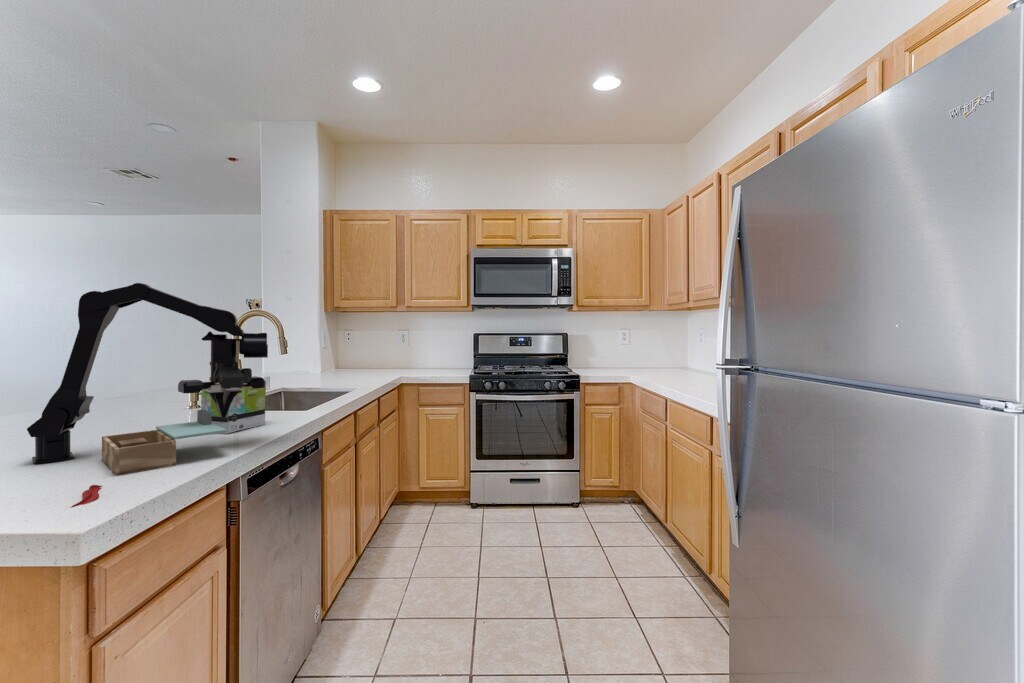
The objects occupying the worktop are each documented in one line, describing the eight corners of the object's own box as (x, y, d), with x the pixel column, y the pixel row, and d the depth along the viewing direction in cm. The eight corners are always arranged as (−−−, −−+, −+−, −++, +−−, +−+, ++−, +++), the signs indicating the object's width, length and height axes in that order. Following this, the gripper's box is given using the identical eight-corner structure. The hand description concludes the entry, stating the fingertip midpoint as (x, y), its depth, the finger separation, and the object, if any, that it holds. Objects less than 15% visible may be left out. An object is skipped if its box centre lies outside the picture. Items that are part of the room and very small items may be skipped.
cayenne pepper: (82, 510, 77) (82, 498, 77) (49, 511, 76) (49, 500, 76) (125, 486, 89) (125, 476, 89) (97, 488, 88) (97, 478, 88)
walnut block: (143, 457, 105) (143, 437, 105) (147, 460, 103) (147, 441, 102) (117, 461, 102) (117, 441, 102) (121, 465, 99) (121, 444, 99)
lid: (156, 428, 112) (156, 414, 112) (205, 422, 120) (205, 409, 120) (173, 439, 101) (173, 423, 101) (226, 432, 109) (226, 417, 109)
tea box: (228, 434, 132) (228, 383, 132) (199, 432, 134) (199, 382, 134) (266, 424, 147) (266, 378, 146) (239, 423, 149) (239, 377, 148)
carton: (101, 460, 104) (101, 436, 104) (158, 451, 112) (158, 429, 112) (115, 475, 94) (114, 449, 94) (176, 465, 102) (176, 440, 102)
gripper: (190, 360, 107) (190, 426, 107) (273, 358, 121) (273, 416, 122) (177, 358, 114) (177, 420, 115) (257, 356, 129) (256, 411, 129)
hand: (223, 417), depth 120 cm, fingers closed
